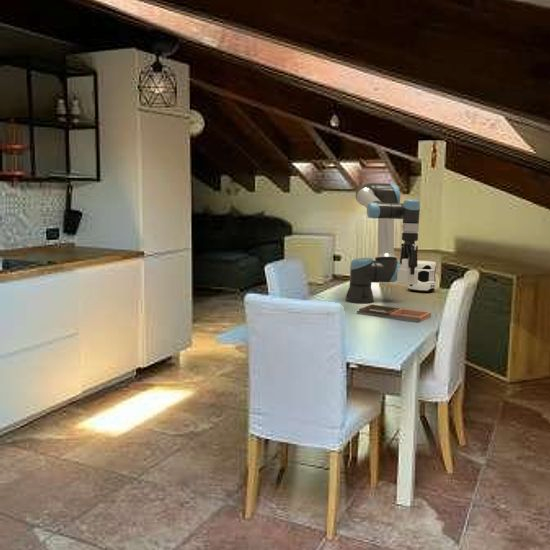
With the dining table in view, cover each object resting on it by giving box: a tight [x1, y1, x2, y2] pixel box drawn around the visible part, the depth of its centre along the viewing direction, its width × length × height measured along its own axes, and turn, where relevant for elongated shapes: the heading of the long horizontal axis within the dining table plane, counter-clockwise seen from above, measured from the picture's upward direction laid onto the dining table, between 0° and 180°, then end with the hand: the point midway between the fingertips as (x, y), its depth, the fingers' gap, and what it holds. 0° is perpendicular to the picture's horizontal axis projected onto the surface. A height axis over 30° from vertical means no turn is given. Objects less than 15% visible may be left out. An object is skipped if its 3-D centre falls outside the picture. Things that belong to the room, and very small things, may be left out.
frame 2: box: [390, 308, 432, 323], centre depth 292 cm, size 15×15×2 cm
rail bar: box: [356, 310, 421, 323], centre depth 288 cm, size 2×31×1 cm, turn 58°
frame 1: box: [358, 304, 400, 315], centre depth 300 cm, size 15×15×2 cm
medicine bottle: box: [396, 257, 418, 286], centre depth 290 cm, size 7×7×12 cm
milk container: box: [406, 259, 437, 293], centre depth 369 cm, size 17×17×18 cm
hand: (407, 280), depth 290 cm, fingers closed on medicine bottle, 8 cm apart
